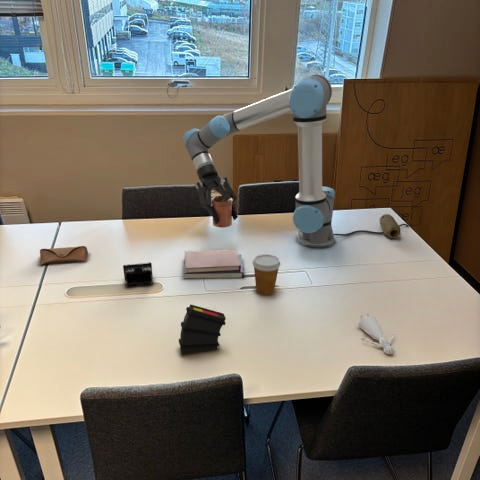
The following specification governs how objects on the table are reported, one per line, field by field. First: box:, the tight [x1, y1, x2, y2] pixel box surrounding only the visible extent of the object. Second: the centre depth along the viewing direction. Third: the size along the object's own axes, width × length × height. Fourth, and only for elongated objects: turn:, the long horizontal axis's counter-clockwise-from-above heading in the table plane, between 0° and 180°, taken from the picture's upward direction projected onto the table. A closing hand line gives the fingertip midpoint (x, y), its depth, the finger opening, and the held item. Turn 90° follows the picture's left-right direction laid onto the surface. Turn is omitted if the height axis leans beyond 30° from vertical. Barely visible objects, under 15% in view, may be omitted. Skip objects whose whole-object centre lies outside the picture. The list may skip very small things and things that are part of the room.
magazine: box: [178, 303, 227, 356], centre depth 145 cm, size 4×13×15 cm, turn 106°
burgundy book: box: [184, 248, 241, 274], centre depth 189 cm, size 20×14×2 cm
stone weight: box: [379, 213, 402, 239], centre depth 220 cm, size 15×7×7 cm, turn 5°
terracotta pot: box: [211, 195, 233, 229], centre depth 195 cm, size 8×8×10 cm
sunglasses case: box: [38, 245, 89, 266], centre depth 195 cm, size 18×7×7 cm, turn 104°
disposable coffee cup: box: [252, 254, 281, 296], centre depth 175 cm, size 10×10×12 cm
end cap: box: [122, 261, 154, 289], centre depth 180 cm, size 10×7×7 cm
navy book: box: [183, 254, 245, 280], centre depth 190 cm, size 22×15×3 cm
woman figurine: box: [358, 313, 396, 355], centre depth 153 cm, size 12×4×18 cm
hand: (226, 220), depth 194 cm, fingers closed on terracotta pot, 8 cm apart
